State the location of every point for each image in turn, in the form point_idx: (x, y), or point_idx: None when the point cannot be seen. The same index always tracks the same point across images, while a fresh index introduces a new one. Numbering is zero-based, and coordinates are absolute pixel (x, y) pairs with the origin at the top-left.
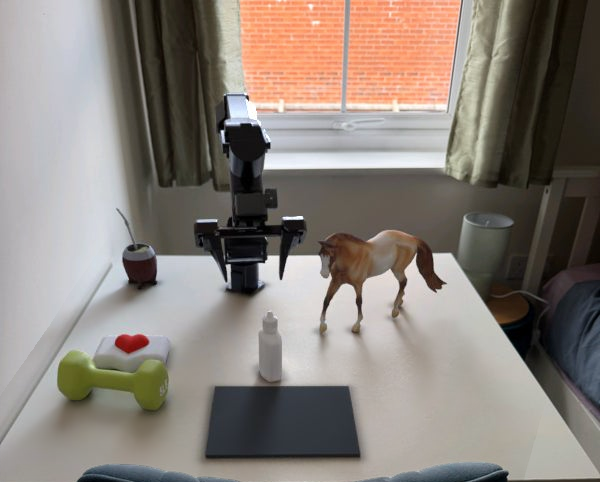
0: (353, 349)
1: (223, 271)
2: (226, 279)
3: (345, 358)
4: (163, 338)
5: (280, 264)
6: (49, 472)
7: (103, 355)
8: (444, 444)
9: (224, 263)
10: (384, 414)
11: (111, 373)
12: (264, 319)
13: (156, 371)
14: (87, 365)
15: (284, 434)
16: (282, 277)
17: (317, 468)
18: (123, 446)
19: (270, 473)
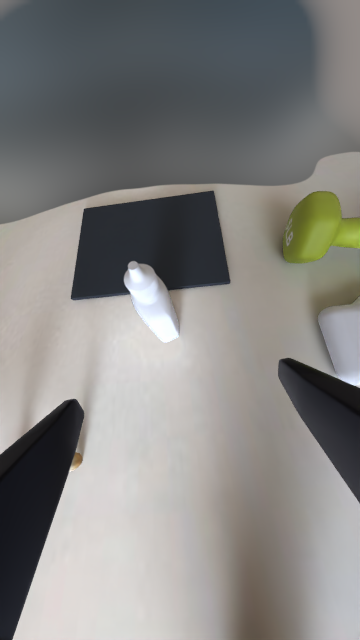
0: (42, 396)
1: (320, 374)
2: (285, 358)
3: (60, 369)
4: (357, 364)
5: (29, 445)
6: (340, 164)
7: None
8: (13, 233)
9: (348, 403)
10: (48, 263)
11: None
12: (150, 270)
13: (308, 202)
14: None
15: (145, 220)
16: (65, 401)
17: (121, 197)
18: (292, 195)
19: (158, 188)
